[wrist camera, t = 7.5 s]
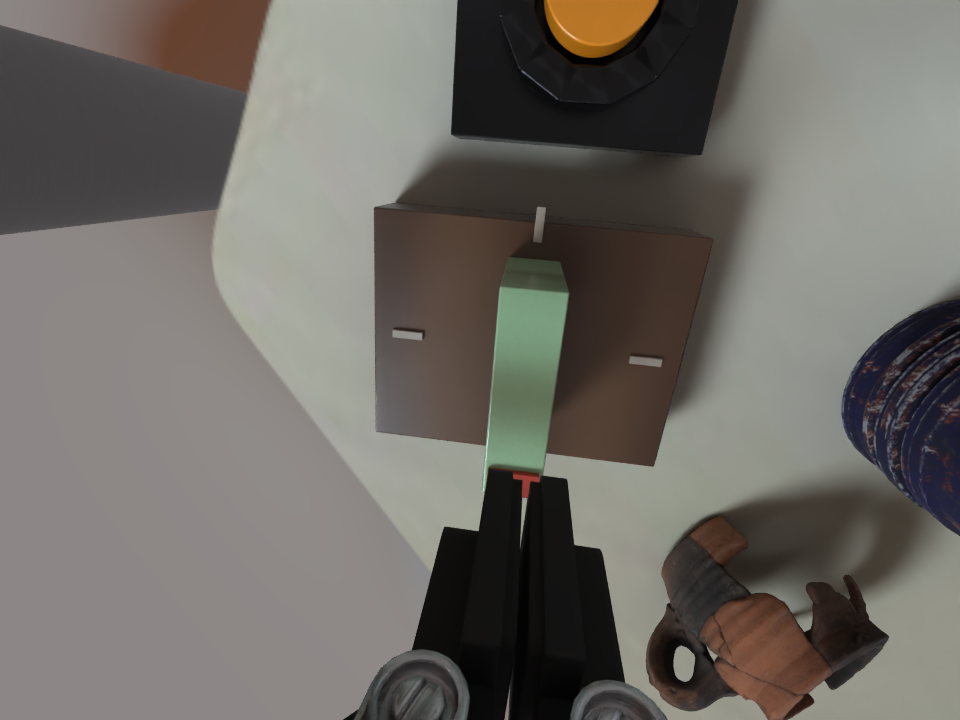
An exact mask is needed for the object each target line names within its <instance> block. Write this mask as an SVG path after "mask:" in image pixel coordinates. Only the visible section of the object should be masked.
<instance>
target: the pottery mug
mask: <svg viewBox="0 0 960 720" xmlns="http://www.w3.org/2000/svg"><path fill="white" fill-rule="evenodd" d="M747 547H748V541H747V540H746V538H745V537H744V536H743V535H742V534H741V533H740V532H738V531H736V530H735V529H734V528H733V527H732V526H731V525H730V524H729V523H728V522H726V521H725V520H724V519H723V518H722V517H720V516H719V517H715V518H714V519H712V520H709V521H707V522H706V523H705V524H703V525H702V526H700V527H698V528H697V529H696V530H695V531H694V532H693V533H691V534H690V536H688V537H686V538H685V539H684V540H683V541H682V542H681V543H680V544H679V545H678V546H676V547H674V549H673V551H672V552H671V553H670V554H669V555H668V556H667V559H666V560H665V562H664V566H663V568H662V578H663V580H664V582H665V586H666V589H667V593H668V597H669V599H670V603H668V604H667V606H666V612H665V615H664V617H663V618H662V620H661V621H660V623H659V624H658V625H657V627H656V628H655V630H654V632H653V633H652V635H651V637H650V640H649V643H648V646H647V652H646V669H647V673H648V675H649V682H650V684H651V685H653V686H654V687H655V688H656V689H657V690H658V691H659V692H660V696H661V697H662V699H663V700H665V701H666V702H667V703H669V704H670V705H672V706H674V707H676V708H678V709H681V710H685V711H697V710H701V709H704V708H706V707H708V706H709V705H711V704H712V703H713V702H715V701H716V700H718V699H720V698H722V697H730V696H731V697H732V696H736V695H740V696H742V697H743V698H744V699H746V700H747V699H749V700H753V701H755V702H756V703H757V704H758V706H759V707H760V709H761V710H762V711H763V713H764V714H765V715H766V717H767V719H768V720H788V719H790V718H792V717H793V716H795V715H796V714H798V713H800V712H801V711H802V710H804V709H806V708H808V707H810V706H811V705H812V704H813V703H814V699H813V698H812V697H811V696H810V695H809V694H808V693H809V692H810V691H812V690H813V689H814V688H815V687H816V686H818V685H819V684H820V683H821V682H823V681H824V680H825V682H826V683H827V685H828V687H829V688H830V689H831V690H834V689H837V688H838V687H839V686H841V685H842V684H844V683H845V682H846V681H848V680H849V679H850V678H852V677H853V676H854V674H855V673H857V672H858V671H860V670H861V669H863V668H864V667H865V666H866V665H867V664H868V663H869V662H870V661H871V660H872V659H873V658H874V657H875V656H876V655H877V654H878V653H879V652H880V651H881V650H882V649H883V646H884V645H885V643H886V642H887V641H888V638H889V636H888V635H887V634H886V633H884V632H883V631H881V630H880V629H879V628H878V627H877V626H876V625H874V624H873V623H872V622H871V621H870V620H869V616H868V614H867V612H866V604H865V602H864V600H863V597H862V594H861V592H860V589H859V587H858V586H857V584H856V583H855V581H854V580H853V579H852V577H851V576H850V575H845V576H844V577H843V579H844V582H845V584H846V586H847V588H848V592H849V595H850V599H849V600H848V598H846V597H845V596H843V595H841V594H840V593H838V592H836V591H835V590H834V589H833V588H832V586H830V585H829V584H828V583H824V582H810V583H808V584H807V585H806V591H807V593H808V595H809V596H810V598H811V600H812V601H813V606H812V610H813V620H812V626H811V629H810V630H808V631H806V632H804V631H803V630H802V628H801V627H800V626H799V624H798V623H797V621H796V619H795V618H794V616H793V615H792V613H791V612H790V609H789V608H788V606H787V605H786V604H785V602H783V601H781V600H779V599H778V598H776V597H775V596H773V595H770V594H768V593H755V594H751V593H750V592H749V591H748V590H747V589H746V588H745V587H744V586H742V585H741V584H740V583H738V582H737V581H736V580H735V579H734V578H733V577H732V576H730V575H729V574H728V573H727V571H726V570H725V569H724V566H725V565H726V564H727V563H728V562H729V560H730V559H732V558H733V557H734V556H735V555H737V554H738V553H740V552H741V551H743V550H744V549H746V548H747ZM681 645H682V646H685V647H687V648H688V649H689V650H690V651H691V652H692V653H694V655H695V665H694V672H693V676H692V678H691V679H690V680H689V681H687V682H683V681H681V680H679V679H678V678H677V677H676V676H675V673H674V667H673V659H674V654H675V650H676V648H677V647H679V646H681ZM706 646H707V647H708V648H709V649H710V650H711V651H712V652H714V653H715V654H717V655H718V657H717V658H716V659H715V661H713V659H712V658H711V656H710V654H709V652H708V649H707V647H706Z"/></svg>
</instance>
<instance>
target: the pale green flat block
mask: <svg viewBox="0 0 960 720" xmlns="http://www.w3.org/2000/svg"><path fill="white" fill-rule="evenodd" d="M568 301H569V291H568V287H567V284H566V280H565V277H564V273H563V270H562V267H561V263H560V262H559V261H549V260H538V259H527V258H515V257H509V258H508V261H507V264H506V268H505V271H504V275H503V278H502V281H501V285H500V289H499V300H498V312H497V323H496V335H495V346H494V358H493V369H492V381H491V392H490V404H489V415H488V427H487V438H486V450H485V461H484V473H483V484H482V491H483V492H485V488H486V482H487V475H488V469H497V470H504V471H511V472H513V479H519V480H523V486H522V497H523V498H528V493H529V486H530V482H531V481H534V482H540V477H541V476H543V472H544V465H545V459H546V452H547V445H548V438H549V431H550V424H551V417H552V411H553V404H554V397H555V390H556V383H557V376H558V369H559V363H560V356H561V349H562V342H563V335H564V328H565V321H566V314H567V308H568Z"/></svg>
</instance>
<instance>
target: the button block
mask: <svg viewBox="0 0 960 720" xmlns="http://www.w3.org/2000/svg"><path fill="white" fill-rule="evenodd" d="M737 4H738V0H659V1H658V4H657V6H656V8H655V9H654V11H653V13H652V14H651V16H650V17H649V19H648V20H647V21H646V23H645V24H644V25H643V27H642V28H641V29H640V31H639V32H638V33H637V34H636V36H635V37H634V38H633V39H632V40H631V41H630V42H629V43H628V44H627V45H625V46H624V47H623V48H621V49H620V50H618V51H616V52H614V53H612V54H610V55H607V56H603V57H597V58H588V57H582V56H578V55H576V54H573V53H571V52H570V51H568V50H567V49H565V48H564V47H563V46H562V45H561V44H560V43H559V42H558V41H557V40H556V38H555V37H554V35H553V34H552V32H551V30H550V28H549V25H548V22H547V19H546V15H545V9H544V0H458V2H457V23H456V43H455V63H454V84H453V104H452V125H451V135H453V136H455V137H457V138H460V139H471V140H483V141H496V142H508V143H521V144H533V145H546V146H558V147H571V148H583V149H595V150H608V151H620V152H633V153H645V154H658V155H670V156H683V157H686V156H696V155H701V154H702V151H703V147H704V143H705V138H706V134H707V130H708V126H709V122H710V117H711V113H712V109H713V105H714V100H715V96H716V92H717V88H718V84H719V79H720V75H721V71H722V67H723V63H724V58H725V54H726V50H727V46H728V42H729V37H730V33H731V29H732V25H733V20H734V16H735V12H736V8H737Z"/></svg>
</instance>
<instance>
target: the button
mask: <svg viewBox="0 0 960 720" xmlns="http://www.w3.org/2000/svg"><path fill="white" fill-rule="evenodd" d="M658 1H659V0H544V9H545V15H546V19H547V22H548V25H549V28H550V30H551V32H552V34H553V35H554V37H555V38H556V40H557V41H558V42H559V43H560V44H561V45H562V46H563V47H564V48H565V49H567V50H568V51H570V52H571V53H573V54H576V55H578V56H582V57H588V58H597V57H603V56H607V55H610V54H612V53H614V52H616V51H618V50H620V49H621V48H623V47H624V46H625V45H627V44H628V43H629V42H630V41H631V40H632V39H633V38H634V37H635V36H636V34H637V33H638V32H639V31H640V29H641V28H642V27H643V25H644V24H645V23H646V21H647V20H648V19H649V17H650V16H651V14H652V13H653V11H654V9H655V8H656V6H657V4H658Z"/></svg>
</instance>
